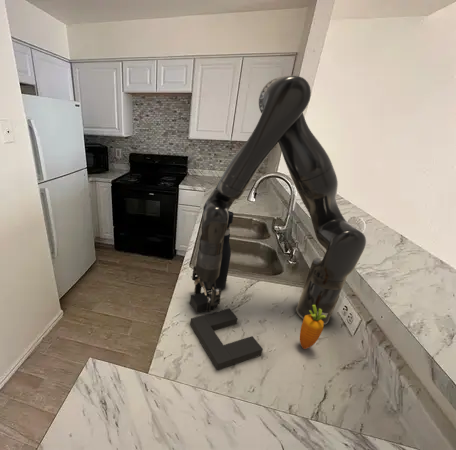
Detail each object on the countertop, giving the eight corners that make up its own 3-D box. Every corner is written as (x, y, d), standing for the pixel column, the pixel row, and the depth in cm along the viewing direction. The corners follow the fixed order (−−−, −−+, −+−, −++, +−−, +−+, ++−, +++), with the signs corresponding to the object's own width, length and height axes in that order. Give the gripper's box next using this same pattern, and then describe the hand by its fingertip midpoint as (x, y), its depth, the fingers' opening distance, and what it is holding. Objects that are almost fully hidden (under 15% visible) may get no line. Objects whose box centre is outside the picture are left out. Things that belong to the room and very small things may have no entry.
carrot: (316, 357, 70) (333, 317, 63) (296, 354, 71) (311, 314, 64) (310, 342, 74) (325, 303, 68) (291, 339, 75) (305, 300, 68)
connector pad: (210, 298, 90) (211, 290, 89) (217, 307, 86) (218, 299, 85) (189, 303, 88) (190, 295, 86) (196, 313, 84) (197, 305, 82)
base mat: (228, 313, 84) (229, 308, 83) (261, 355, 70) (263, 348, 69) (190, 324, 80) (190, 318, 79) (217, 370, 66) (218, 363, 65)
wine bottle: (209, 290, 94) (219, 216, 81) (207, 279, 100) (216, 208, 87) (227, 291, 94) (239, 217, 81) (223, 280, 100) (235, 209, 87)
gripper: (232, 272, 74) (224, 314, 81) (208, 248, 86) (203, 286, 93) (209, 277, 72) (203, 319, 79) (188, 252, 84) (184, 290, 91)
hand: (203, 301), depth 86 cm, fingers open, 8 cm apart
